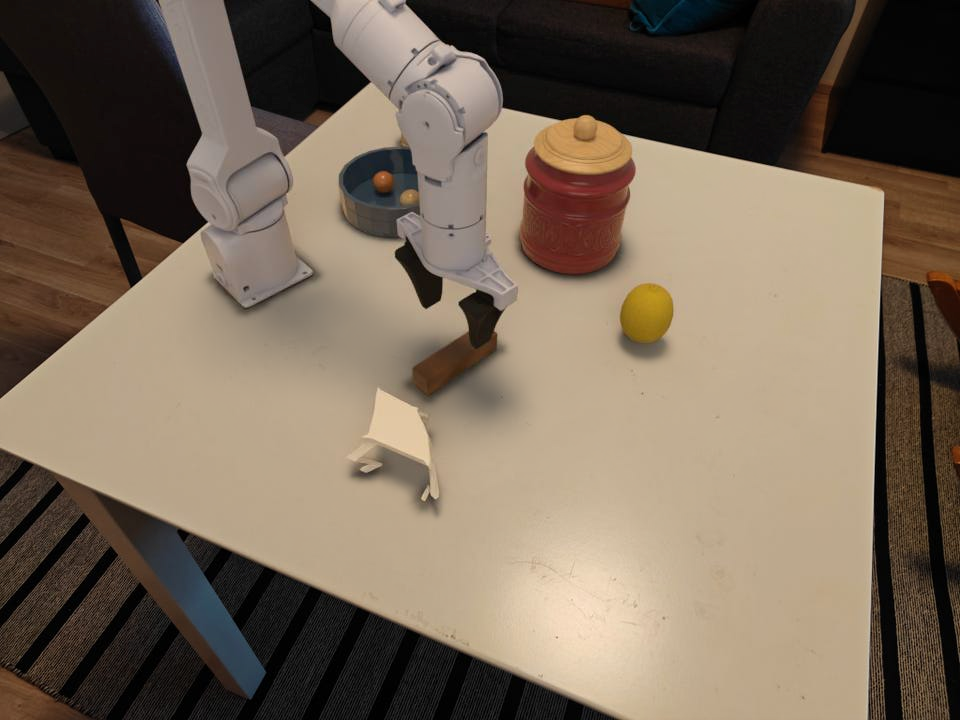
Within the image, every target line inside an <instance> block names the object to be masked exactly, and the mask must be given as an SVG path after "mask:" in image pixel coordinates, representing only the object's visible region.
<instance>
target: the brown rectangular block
mask: <svg viewBox="0 0 960 720" xmlns="http://www.w3.org/2000/svg"><path fill="white" fill-rule="evenodd" d="M496 350H498V332H497V331H495V330H494V332H493V334H492V337H491V340H490V341H489V342H487V343H486V344H484V345H483V346H481V347H480V348H478V349H475V348H474V347H473V346H472V345H471V343H470V339H469V330H468V331H467V332H465V333H463V334H462V335H460V336H459V337H458V338H456V339H454V340H453V341H451V342H449V343H448V344H446V345H445V346H444V347H441V348H440V349H439V350H437V351H436V352H435V353H433V354H431V355H430V356H428V357H426V358H425V359H423V360H422V361H420V362H419V363H417V364H416V365H414V366H412V368H411V370H412V371H411V372H412V379H413V384H414V385H415V386H416V387H417V388H419V390H420V391H421V392H423V393H424V394H425V395H426V396H431V394H434V392H436V391H438V390H439V389H440V388H442V387H443V386H445V385H447V384H448V383H449V382H450V381H452V380H454V379H455V378H457V377H458V376H459V375H461V374H463V373H464V372H465V371H467V370H468V369H470V368H471V367H473V366H474V365H475V364H477V363H478V362H481V360H483V359H485V358H486V357H488V356H489V355H491V354H492V353H493V352H494V351H496Z"/></svg>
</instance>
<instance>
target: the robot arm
mask: <svg viewBox="0 0 960 720" xmlns="http://www.w3.org/2000/svg"><path fill="white" fill-rule="evenodd" d="M310 1H311V3H313V5H315V6H316V7H317V8H318V9H319V10H321V11H322V12H323V13H324V14H326V16H327V17H328V18H330V24H331V31H332V33H331V34H332V39H333V43H334V45H335V47H336V48H337V49H338V50H340V52H341V53H342V54H343V55H344V56H345V57H346V58H347V59H348V60H349V61H350V62H351V63H352V64H353V66H355V67H356V68H357V69H358V70H359V71H360V72H361V73H362V74H363V75H364V76H365V77H366V78H367V79H368V80H369V81H370V82H371V84H372V85H374V86H375V87H376V88H377V89H378V90H379V92H381V94H383V95H384V96H385V98H386V99H388V100H389V102H391V104H392V105H393V106H394V107H395V108H397V110H398V111H395V117H396V121H397V125H398V129H399V131H400V134H401V133H402V135H403V137H404V138H405V140H406V141H407V143H408V145H409V147H410V149H411V152H412V162H413V165H415V167H416V171H417V174H418V189H419V204H420V216H419V215H417V214H415V213H413V212H411V213H409V214H407V215H405V216H403V217H401V218H399V219H397V230H398V236H399V237H400V239H402V240H405V242H404V245H402V246H400V247H398V248H397V249H395V251H394V259H396V261H397V262H398V263H399V265H401V266H402V268H403V269H404V271H405V273H406V274H407V276H408V278H409V280H410V281H411V284H412V286H413V287H414V291H415V293H416V295H417V298H418V300H419V303H420V305H421V307H422V308H423V309H425V310H427V309H429V308H431V307H432V306H434V305H436V304H437V303H439V302H441V300H442V297H443V287H444V285H443V284H444V281H443V279H446V280H449V281H452V282H454V283H457V284H460V285H463V286H466V287H469V288H472V289H475V292H472V293H470V294H468V295H467V296H466V297H464V298H462V299H460V300H459V301H458V304H457V305H458V307H459V308H460V309H461V311H462V312H463V314H464V317H465V319H466V322H467V328H468V331H469V339H470V343H471V345H472V346H473V347H474V348H475V349H478V348H480V347H481V346H483V345H484V344H486V343H487V342H489V341H490V340H491V337H492V334H493V332H494V331H495V329H496V327H497V325H498V322H499V320H500V318H501V317H502V314H503V313H504V312H505V311H506V309H507V308H509V307H510V306H512V304H515V303H517V301H518V291H519V289H518V288H519V285H518V283H516V281H514V280H513V279H511V278H510V276H509V275H508V274H507V273H506V272H505V270H504V268H503V267H502V266H501V263H499V262H498V260H497V259H496V257H495V256H494V254H493V253H492V251H491V249H490V248H489V246H490V245H491V244H492V236H491V235H490V234H488V233H487V197H488V196H487V194H488V193H487V191H488V189H487V188H488V185H487V184H488V155H489V154H488V151H489V150H488V149H489V133H488V132H487V131H486V130H488V129H489V128H490V127H491V126H492V125H493V124H494V123H495V122H496V121H497V120H498V118H499V117H500V115H501V113H502V110H503V103H504V97H503V89H502V86H501V83H500V81H499V79H498V77H497V75H496V74H495V72H494V71H493V69H492V68H491V67H490V66H489V64H488V62H487V61H486V59H485V58H484V57H482V56H480V55H478V54H475V53H473V52H469V51H460V50H458V49H457V48H456V47H455V46H454V45H449V44H446V43H445V42H443V41H442V40H441V39H440V38H439V37H438V36H437V35H436V34H435V33H434V32H433V31H432V30H431V29H430V28H429V26H428V25H426V23H424V22H423V20H422V19H421V18H420V17H418V16H417V14H416V13H415V12H414V11H413V10H412V9H411V8H410V7H409V6H408V5H407V4H406V2H407V0H310ZM158 4H159V7H160V9H161V12H162V15H163V18H164V22H165V25H166V28H167V32H168V35H169V37H170V39H171V40H170V41H171V44H172V46H173V49H174V52H175V55H176V58H177V61H178V65H179V67H180V70H181V73H182V77H183V80H184V82H185V85H186V89H187V91H188V92H187V93H188V94H189V98H190V101H191V104H192V107H193V110H194V113H195V116H196V119H197V122H198V125H199V128H200V131H201V136H200V138H199V140H198V142H197V144H196V145H195V147H194V149H193V150H192V152H191V154H190V156H189V158H188V160H187V162H186V167H187V170H188V174H189V177H190V193H191V194H190V195H191V199H192V202H193V203H194V205H195V207H196V210H197V211H198V212H199V214H200V215H201V216H202V217H203V218H204V219H205V220H206V221H207V222H208V223H209V224H210V225H209V226H207V227H206V228H204V229H203V230H201V231H200V239H201V242H202V245H203V247H204V250H205V253H206V254H207V258H208V261H209V263H210V266H211V268H212V271H213V274H212V276H213V278H214V279H215V280H216V281H217V282H218V283H219V284H220V285H221V286H222V287H223V288H224V289H225V290H226V291H227V292H228V293H229V294H230V295H231V296H232V298H234V299H235V301H236V302H237V303H239V304H240V305H241V306H242V308H246V309H247V308H248V309H249V308H251V307H252V306H254V305H257V304H258V303H260V302H262V301H264V300H266V299H268V298H270V297H271V296H274V295H276V294H278V293H280V292H281V291H284V290H285V289H287V288H289V287H292V286H293V285H295V284H297V283H299V282H301V281H303V280H305V279H307V278H308V277H312V275H313V274H314V271H313V269H312V268H310V266H308V264H306V263H305V262H304V261H303V260H302V259H300V258H299V257H298V256H297V255H296V251H295V246H294V242H293V239H292V235H291V232H290V231H291V230H290V228H289V223H288V219H287V215H286V210H285V206H287V205H288V204H289V202H288V201H289V200H288V198H287V194H289V193H290V192H291V191H292V189H293V186H294V176H293V172H292V168H291V166H290V164H289V162H288V161H287V158H286V157H285V156H284V154H283V152H282V149H281V146H280V142H279V139H278V138H277V137H276V136H275V135H274V134H272V133H271V132H270V131H267V130H265V129H263V128H261V127H258V126H257V125H256V121H255V117H254V114H253V110H252V107H251V105H252V104H251V101H250V97H249V95H248V90H247V87H246V82H245V79H244V75H243V70H242V68H241V64H240V59H239V56H238V55H239V54H238V51H237V48H236V44H235V40H234V36H233V33H232V28H231V25H230V21H229V17H228V13H227V9H226V5H225V1H224V0H158ZM485 131H486V132H485Z"/></svg>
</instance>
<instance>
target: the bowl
mask: <svg viewBox="0 0 960 720" xmlns="http://www.w3.org/2000/svg"><path fill="white" fill-rule="evenodd" d="M381 171H386V172H389V173H390V174H391V175H392V176H393V178H394V181H395V184H394V188H393V189H392V190H391V191H390V192H388V193H380V192H378V191H377V190H376V189H375V188H374V185H373V178H374V176H375V175H376V174H377V173H378V172H381ZM337 183H338V190H339V196H340V202H341V208H342V210H343V214H344V216H345V218H346V220H347V221H348V223H349V224H351V226H352V227H355V228H356V229H357V230H359V231H361V232H363V233H366V234H368V235H372V236H375V237H380V238H381V237H382V238H389V239H391V238H392V239H393V238H395V239H397V238H400V239H401V237H399V236H398V230H397V219H399V218H401V217H403V216H405V215H407V214H409V213H411V212H413V213H415V214H417V215H419V216H420V204H419V203H416V204H412V205H408V206H401V205H400V196H401V194H402V193H403V192H404V191H406V190H409V189H412V190H415V191H417V192H418V193H419V189H418V174H417V171H416V167H415V165H413V162H412V152H411V149H410V147H403V146H386V147H381V148H376V149H372V150H367V151H365V152H363V153H361V154H359V155H357V156H354V157H353V158H352V159H351V160H350V161H348V162H347V163H345V164H344V165H343V167H342V169H341V171H340V172H339V174H338V182H337Z"/></svg>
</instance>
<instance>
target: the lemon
mask: <svg viewBox="0 0 960 720" xmlns="http://www.w3.org/2000/svg"><path fill="white" fill-rule="evenodd" d="M674 310H675V309H674V301H673V297H672V296H671V294H670V292H669V291H668V290H667V289H666V288H665V287H663V286H662V285H660V284H657V283H652V282H646V283H641V284H638V285H636V286H634V287H633V288H632V289H631V290H630V291H629V292H628V294H627V295H626V297H625V299H624V300H623V302H622V304H621V309H620V312H619V321H620V326H621V328H622V330H623V332H624V334H625V336H627V337H628V338H629V339H631V341H634V342H636V343H640V344H649V343H650V344H651V343H654V342H657V341H658V340H659V339H661V338H662V337H663V336H665V334H667V331H669V329H670V327H671V325H672V321H673V318H674Z"/></svg>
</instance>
